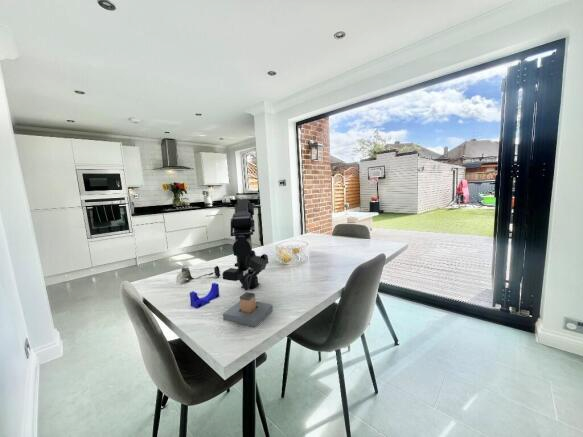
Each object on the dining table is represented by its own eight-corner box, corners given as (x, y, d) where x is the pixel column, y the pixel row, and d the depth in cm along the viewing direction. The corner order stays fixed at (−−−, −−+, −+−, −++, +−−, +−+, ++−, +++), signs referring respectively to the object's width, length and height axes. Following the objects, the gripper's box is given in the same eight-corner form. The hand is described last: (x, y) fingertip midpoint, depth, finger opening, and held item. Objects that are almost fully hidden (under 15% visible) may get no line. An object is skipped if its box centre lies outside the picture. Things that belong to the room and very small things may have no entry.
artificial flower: (219, 282, 128) (214, 267, 124) (176, 291, 126) (170, 275, 122) (221, 272, 136) (217, 257, 132) (180, 280, 134) (175, 265, 130)
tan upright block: (241, 316, 89) (239, 296, 88) (247, 311, 93) (246, 292, 92) (250, 318, 88) (248, 298, 87) (256, 313, 91) (254, 293, 90)
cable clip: (196, 309, 97) (195, 295, 97) (191, 306, 100) (189, 292, 99) (221, 297, 107) (220, 284, 106) (215, 295, 109) (214, 282, 109)
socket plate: (223, 319, 88) (222, 313, 88) (243, 304, 99) (242, 299, 98) (255, 327, 82) (255, 320, 82) (272, 310, 93) (272, 304, 93)
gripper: (247, 258, 75) (250, 305, 77) (275, 244, 92) (277, 283, 94) (219, 255, 80) (223, 299, 82) (251, 242, 97) (254, 279, 99)
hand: (246, 289), depth 89 cm, fingers closed
